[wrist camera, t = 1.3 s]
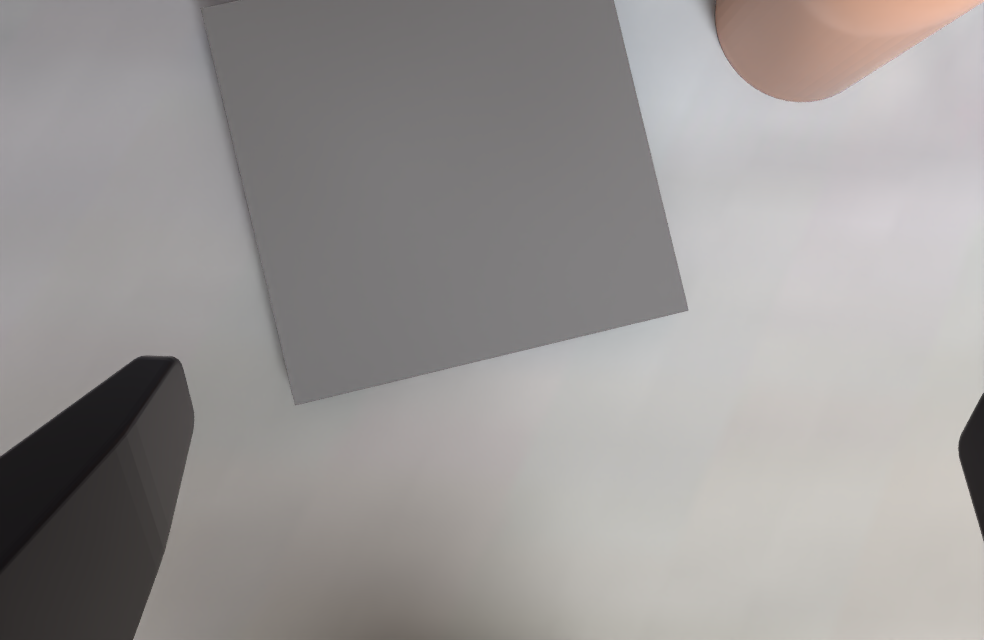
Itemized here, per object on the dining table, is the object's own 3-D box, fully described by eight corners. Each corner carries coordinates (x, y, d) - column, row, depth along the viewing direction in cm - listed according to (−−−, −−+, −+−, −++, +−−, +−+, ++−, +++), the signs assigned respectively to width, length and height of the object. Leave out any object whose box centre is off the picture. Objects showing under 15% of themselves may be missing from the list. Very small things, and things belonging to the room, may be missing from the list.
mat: (678, 311, 24) (688, 310, 23) (301, 402, 24) (294, 405, 23) (589, -61, 24) (594, -78, 23) (211, 22, 24) (200, 8, 23)
